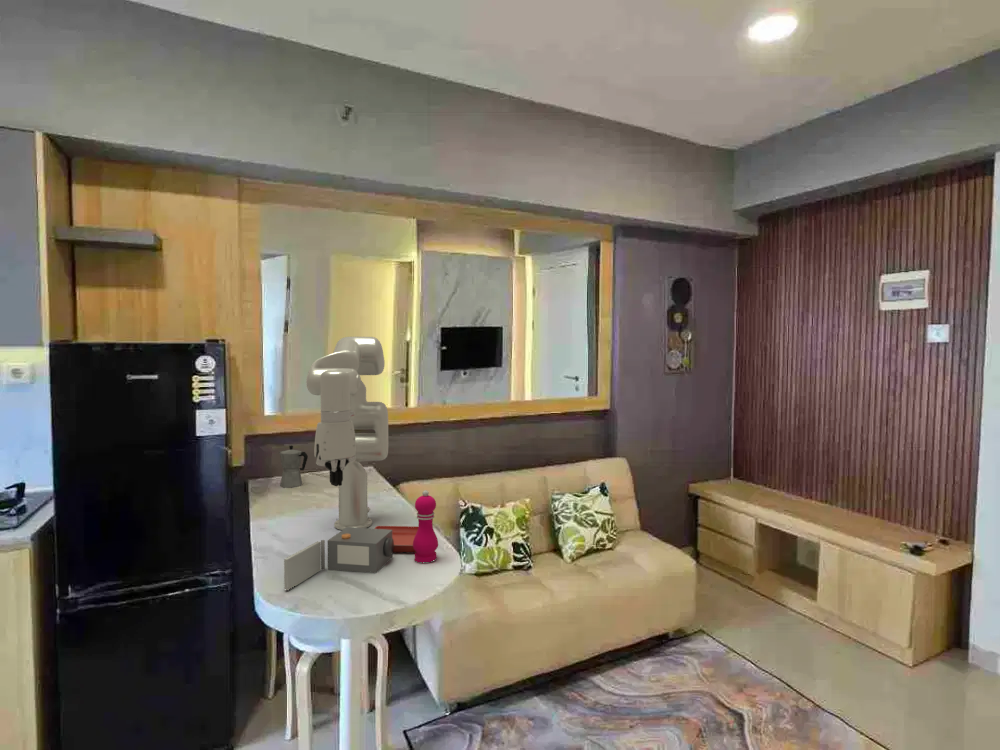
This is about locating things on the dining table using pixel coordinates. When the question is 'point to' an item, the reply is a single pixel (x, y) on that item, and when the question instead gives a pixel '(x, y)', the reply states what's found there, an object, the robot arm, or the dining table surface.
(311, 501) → the dining table surface
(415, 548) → the pepper mill
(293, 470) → the coffeepot
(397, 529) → the plant saucer
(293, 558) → the side door
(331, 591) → the dining table surface
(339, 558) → the camera case
